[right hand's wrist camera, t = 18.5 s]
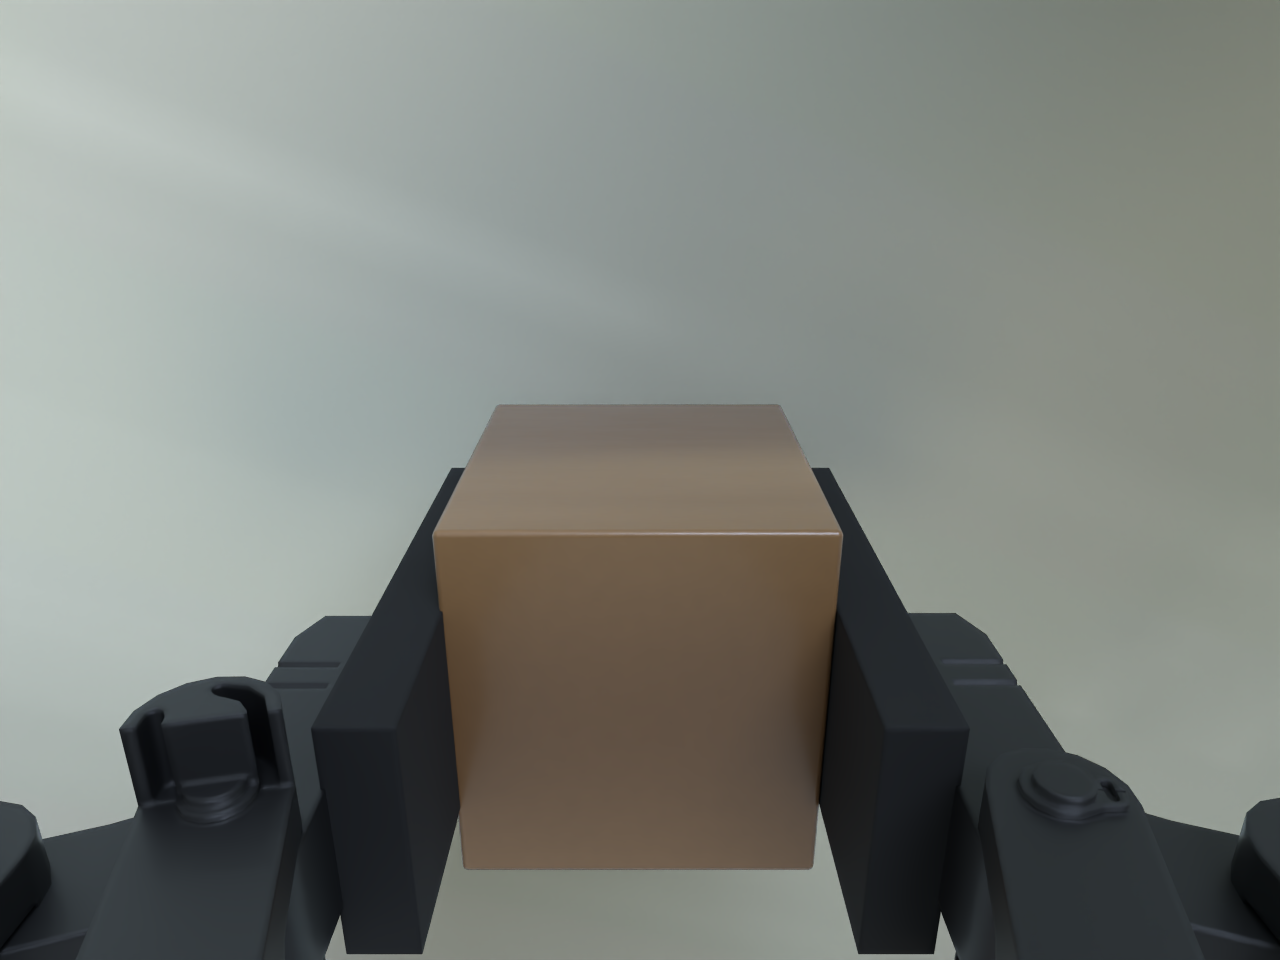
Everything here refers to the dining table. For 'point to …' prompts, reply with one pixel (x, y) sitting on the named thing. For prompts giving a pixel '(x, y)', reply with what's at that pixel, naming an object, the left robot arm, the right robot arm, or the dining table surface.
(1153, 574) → the dining table surface
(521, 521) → the block
